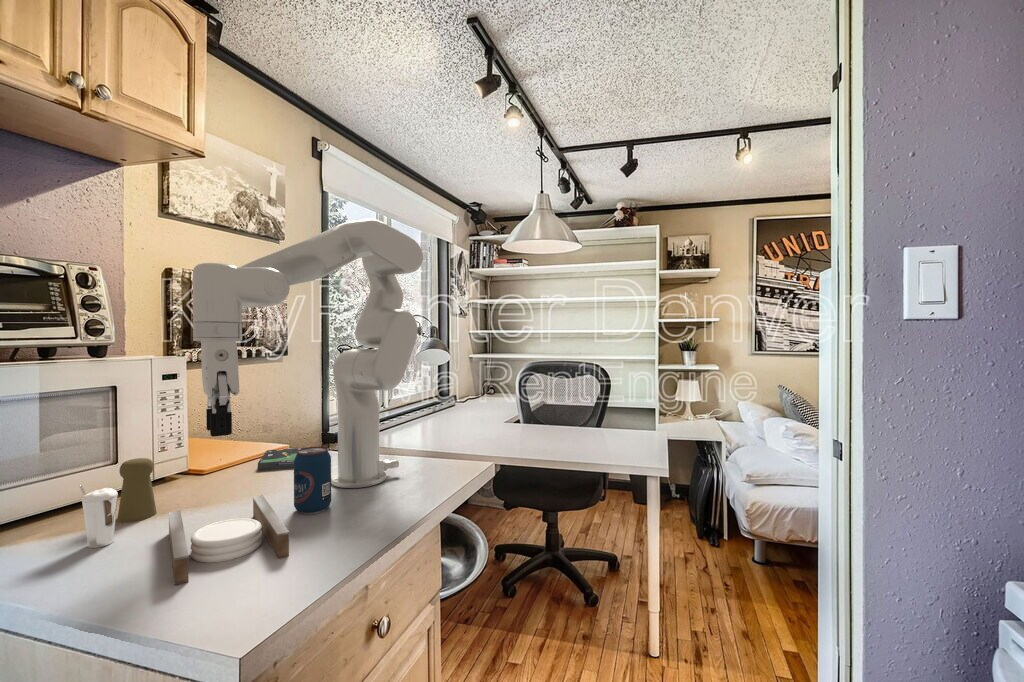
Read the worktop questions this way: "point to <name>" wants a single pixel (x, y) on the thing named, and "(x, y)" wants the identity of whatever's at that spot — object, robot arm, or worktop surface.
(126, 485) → the olive pepper shaker
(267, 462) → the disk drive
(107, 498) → the milkshake
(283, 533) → the chute
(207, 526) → the coaster
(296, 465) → the soda can
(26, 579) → the worktop surface
